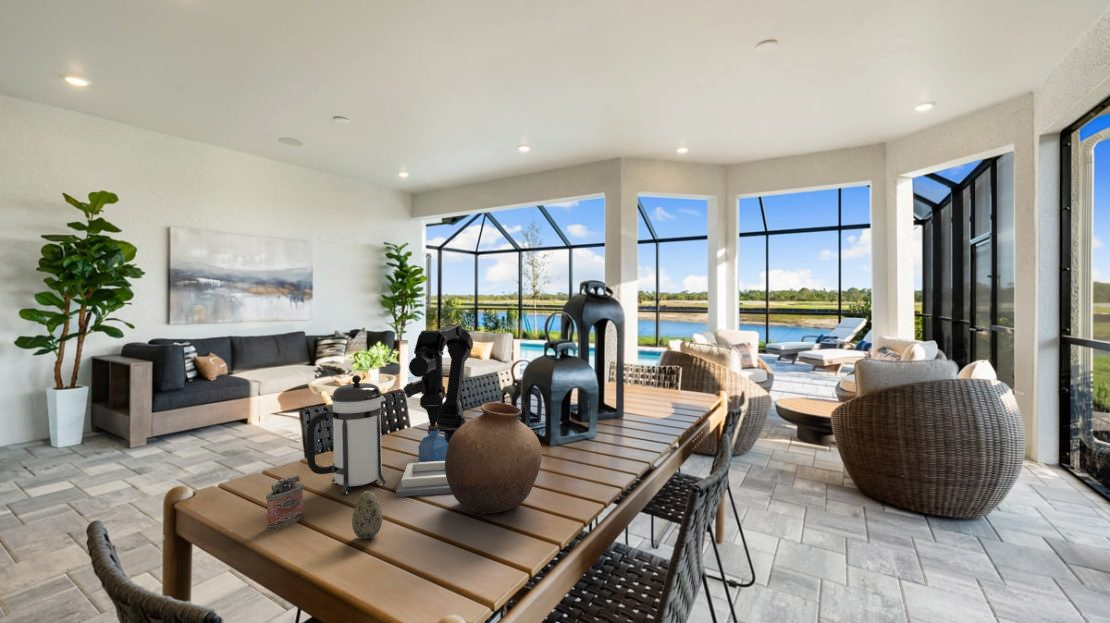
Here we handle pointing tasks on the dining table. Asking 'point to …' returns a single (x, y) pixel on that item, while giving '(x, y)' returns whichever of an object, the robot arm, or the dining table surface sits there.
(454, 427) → the robot arm
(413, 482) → the socket board
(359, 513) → the decorative egg
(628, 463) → the dining table surface
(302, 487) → the lighter
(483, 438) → the pottery
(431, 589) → the dining table surface
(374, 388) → the coffee press
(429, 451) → the perfume bottle
